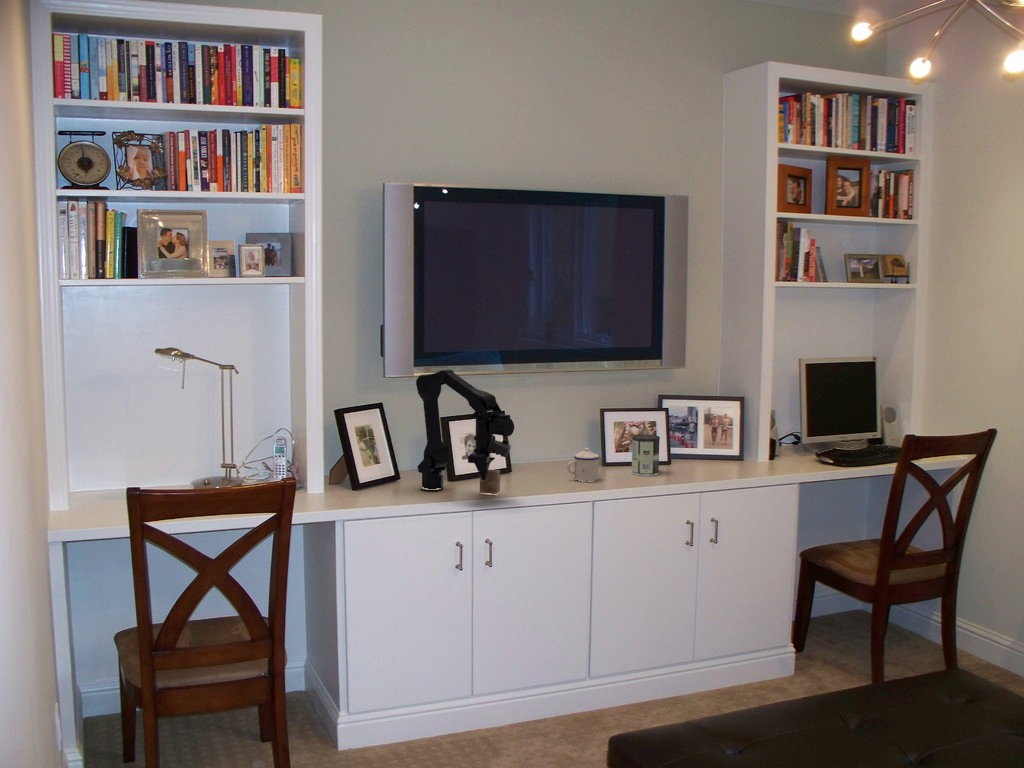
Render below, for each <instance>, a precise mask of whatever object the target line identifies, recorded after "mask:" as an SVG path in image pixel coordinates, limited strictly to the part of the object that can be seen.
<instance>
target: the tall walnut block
mask: <svg viewBox="0 0 1024 768" xmlns="http://www.w3.org/2000/svg"><path fill="white" fill-rule="evenodd" d="M498 492H500V493H501V470H500V469H488V473H487V477H486V480H482V479H481V476H480V475H479V494H480V493H491V494H497V493H498Z"/></svg>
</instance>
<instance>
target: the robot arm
mask: <svg viewBox="0 0 1024 768" xmlns="http://www.w3.org/2000/svg"><path fill="white" fill-rule="evenodd" d="M415 385H416V390H417V394H418V395H419V398H420V399H421V400H422V402H423V403H422V404H423V412H424V422H425V433H426V442H427V443H426V446H425V448H424V450H423V459H422V461H421V462H419V464H418V465H417V466H416V467H417V472H418V473H421V488H422V487H424V488H428V489H436V488H442V487H443V488H444V475H443V471H445V470H446V468H447V466H448V464H449V460H450V459H449V458H451V456H450V448H449V445H445V444H444V442H443V441H442V430H441V421H440V418H441V417H440V410H439V401H438V400H439V398H440V395H441V393H442V386H443V385H446V386H447V387H449V388H450V389H451V390H453V391H455V392H456V394H459V395H460V396H461V397H463V398H464V399H466V401H467V403H468V406H469V407H470V408H471V409H472V410H473V411H474V412H473V413H472V414H471V415H470V416H469V417H470V419H475V435H474V436H473V440H474V441H475V442H474V443H475V444H474V445H475V448H474V449H473V452H472V453H471V454H469V455H467V463H469V464H474V466H475V467H476V471H477V472H478V474H479V477H480V476H481V479H482V480H486V477H487V473H488V470H490V465H491V463H492V462H493V461H494V460H495V459H496V457H492V455H491V454H495V455H496V456H498V455H500V457H503V458H506V457H507V456H508V455H509V452H510V450H511V448H512V447H511V444H510V441H509V440H507V439H506V438H504V439H503V440H502V441H500V440H496V436H495V435H497V436H503V437H510V436H512V435H513V434H514V431H515V424H514V421H513V419H512V418H511V415H510V414H504V413H503V411H502V409H501V407H500V405H499V404H498V402H497V398H496V396H494V394H492V393H489V392H487V391H485V390H481V389H477V388H476V387H474V386H473V385H472V384H470V383H469V382H468V381H466V380H465V379H464V378H462V377H461V376H459V375H457V373H455V372H454V370H452V369H442V370H439V371H438V372H435V373H429V374H428V373H427V374H421V375H419V376H418V377H417V378H416V380H415ZM443 488H442V489H443Z"/></svg>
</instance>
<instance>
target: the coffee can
mask: <svg viewBox="0 0 1024 768" xmlns="http://www.w3.org/2000/svg"><path fill="white" fill-rule="evenodd" d="M660 438H661V437H660V436H659V435H656V434H647V433H646V434H645V433H644V434H633V435H632V436H631V439H632V440H631V443H632V444H631V450H632V451H631V474H633V475H634V474H635V475H634V476H639V475H642V476H641V477H654V475H655V476H659V471H660V468H659V467H660V464H659V463H660Z"/></svg>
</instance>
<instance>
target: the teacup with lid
mask: <svg viewBox="0 0 1024 768" xmlns="http://www.w3.org/2000/svg"><path fill="white" fill-rule="evenodd" d="M573 455H574V456H573V458H574V460H571V461H569V462H568V463H567V465H566V466H567V467H566V469H567V472H568V473H569V474H570V475H573V478H575V479H577V480H583V481H595V482H597V481H598V480H599V459H600V456H599V454H598V453H595V452H593V451H591V450H590V448H589V447H584V448H583V450H582V451H580V452H578V453H575V454H573ZM572 464H574V466H573V467H574V469H573V470H574V472H573V471H571V468H570V466H571V465H572ZM575 479H574V480H575ZM596 480H597V481H596Z"/></svg>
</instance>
